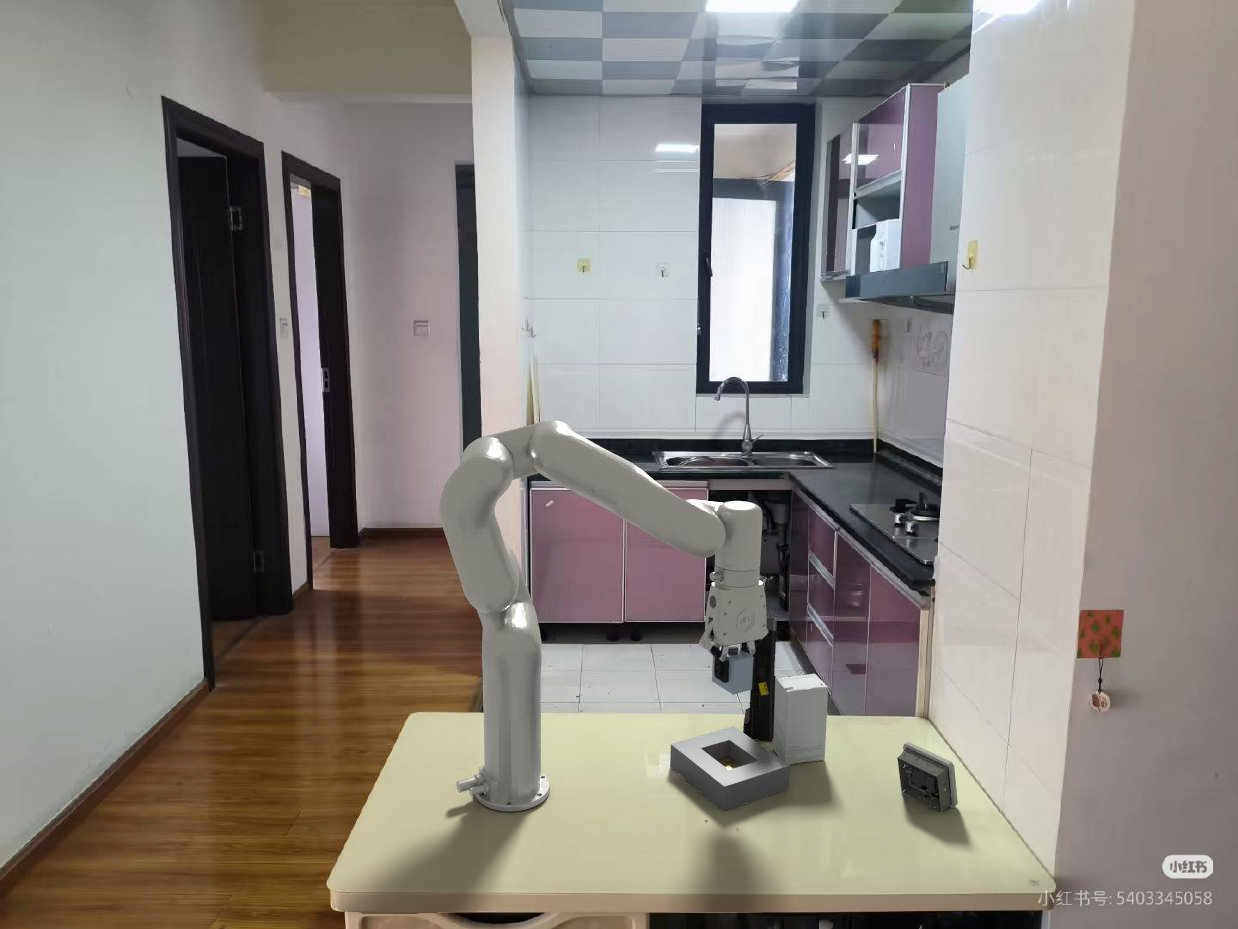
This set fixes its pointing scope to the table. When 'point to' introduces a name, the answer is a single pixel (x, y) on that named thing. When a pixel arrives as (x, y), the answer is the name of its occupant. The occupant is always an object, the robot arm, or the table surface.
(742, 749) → the socket block
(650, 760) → the table surface
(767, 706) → the portable radio
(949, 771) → the electrical switch
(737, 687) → the plug
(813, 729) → the skincare box
